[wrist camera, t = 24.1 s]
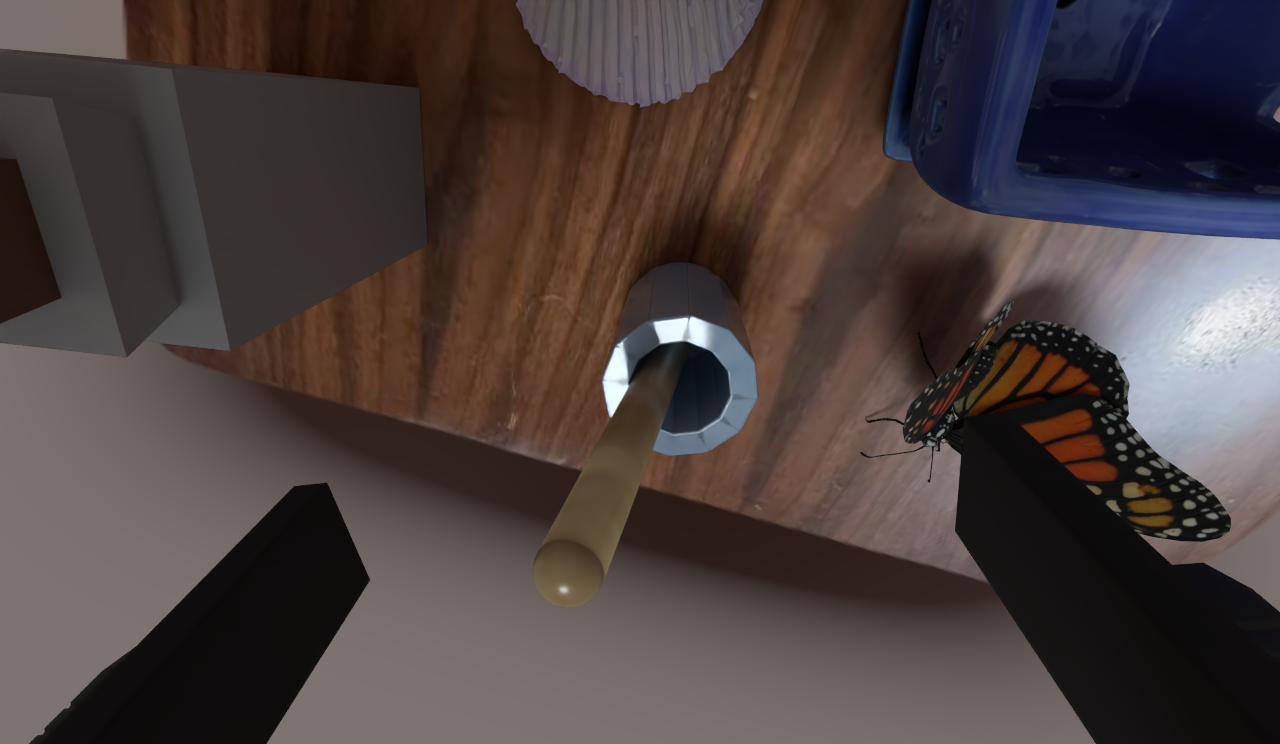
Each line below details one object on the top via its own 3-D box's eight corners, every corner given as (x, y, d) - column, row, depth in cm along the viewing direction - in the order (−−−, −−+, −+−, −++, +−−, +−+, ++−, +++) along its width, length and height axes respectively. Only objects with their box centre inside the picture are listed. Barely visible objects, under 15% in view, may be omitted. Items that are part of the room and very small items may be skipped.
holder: (606, 347, 30) (582, 425, 22) (647, 244, 27) (635, 293, 20) (709, 386, 30) (718, 474, 23) (756, 287, 28) (784, 351, 21)
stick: (659, 332, 28) (512, 604, 13) (672, 303, 28) (533, 553, 12) (690, 346, 28) (580, 635, 13) (703, 317, 28) (604, 586, 12)
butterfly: (780, 411, 31) (823, 539, 21) (883, 237, 27) (990, 304, 18) (982, 494, 32) (1103, 648, 23) (1108, 339, 28) (1316, 451, 19)
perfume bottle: (427, 244, 28) (71, 436, 12) (288, 229, 28) (-257, 397, 12) (419, 87, 25) (-64, 51, 9) (264, 71, 25) (-492, 6, 9)
